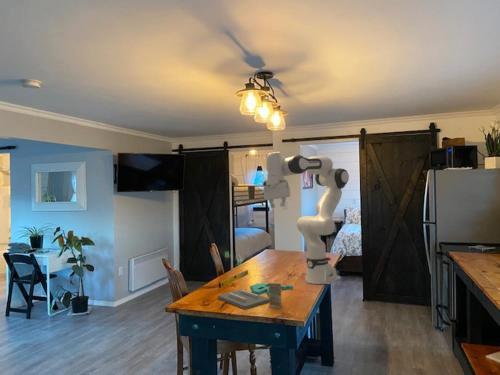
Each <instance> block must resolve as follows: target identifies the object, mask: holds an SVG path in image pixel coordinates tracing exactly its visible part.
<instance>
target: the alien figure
mask: <svg viewBox="0 0 500 375" xmlns="http://www.w3.org/2000/svg"><path fill="white" fill-rule="evenodd" d="M249 288H250V292H252V293H255V294H258V295H261V296H262V295H263V294H265V293H266V294H267V296H268V297H269V282H266V283H264V282H263V283H262V282H261V283H255V284H252V285H250V286H249ZM281 289H283V291H286V290H290V289H291V290H293V289H294V285H292V284H288V285H281Z"/></svg>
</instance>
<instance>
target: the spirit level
mask: <svg viewBox="0 0 500 375" xmlns="http://www.w3.org/2000/svg"><path fill="white" fill-rule="evenodd" d="M247 275H249V269H246V270H244V271H242V272H239V273H238V274H236V275H234V276H231V277H229V278H227V279H225V280H223V281H221V282H218V288H222V287H224V286H227V285H228V284H231V283H234V282H235V281H237V280H240V279H241V278H243V277H246V276H247Z"/></svg>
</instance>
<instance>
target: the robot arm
mask: <svg viewBox="0 0 500 375" xmlns="http://www.w3.org/2000/svg"><path fill="white" fill-rule="evenodd" d="M265 162H266V163H265V164H266V165H265V166H266V171H267V177H266V178H267V179H266V180H264V181H263V182H262V187H263V188H262V190H263V198H264V200H265V201H268V203H269V205H270V208H271V209H273V208H275V205H276V204H274V200H277V199H280V200H281V202H280V207H283V208H284V207H285V206H286V200H287V198H289V197H291V189H290V185H289V182H288V180H287V179H285V178H284V177H288V176H293V175H294V176H295V175H299V174H300V175H301V174H303V173H305V172H306V173H307V174H309V175H315V176H314V180H315V182H316V184H317V185H319V186H321V187H326V189H325V191H324V192H323V194H321V197H320V198H319V200H318V202H317V203H316V205H315V207H316V208H315V209H316V211H317V214H316V215H304V216H300V217H299V218H298V219H297V221H296V222H297V223H296V227H297V229H298V231H299V232H300V233H301V235H302V236H303V238H304V241H305V245H306V265H307V266H306V272H305V277H304V281H305V282H306V283H308V284H313V285H330V284H333V283H335V282H338V281H339V280H341V279H342V277H341V276H340V275H337V269H336V268H335V267H334V266H332V264H330V263H329V261H332V257H329V256H327V251H326V247H327V246H326V244H325V242H324V241H323V240H322V239H321V238H320V236H328V235H332V234H333V233H334V231H335V228H336V224H335V221H334V219H333V215H334V212H335V210H336V209H337V206H338V204H339V203H340V200H341V198H342V195H343V191H342V189H344V188H345V187H346V185H347V183H348V181H349V177H350V175H349V173H348V171H347V169H345V168H342V167H341V168H335V167H334V168H333V165H334V164H333V163H334V162H333V161H332V159H330V157H328V156H325V155H324V156H322V155H313V156H310V157H305V156H303V155H300V154H296V155H293V156H290V157H285V156H284V155H282V154H281V152H280V151H274V152H269V153H268V154H267V155H266V160H265ZM326 256H327V257H326Z"/></svg>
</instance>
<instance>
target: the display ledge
mask: <svg viewBox="0 0 500 375" xmlns="http://www.w3.org/2000/svg"><path fill="white" fill-rule="evenodd" d="M217 299H219V300H221V301H224V302H225V303H228V304H231V305H234V306H236V307H238V308H240V309H243V310H248V309H251V308H254V307H258V306H261V305H265V304H268V303H269V297H267V296H263V295H262V294H261V295H258V294H255V293H252V292H251V291H249V290H247V289H243V288H242V289H237V290H233V291H229V292H225V293H222V294H219V295H217Z"/></svg>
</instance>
